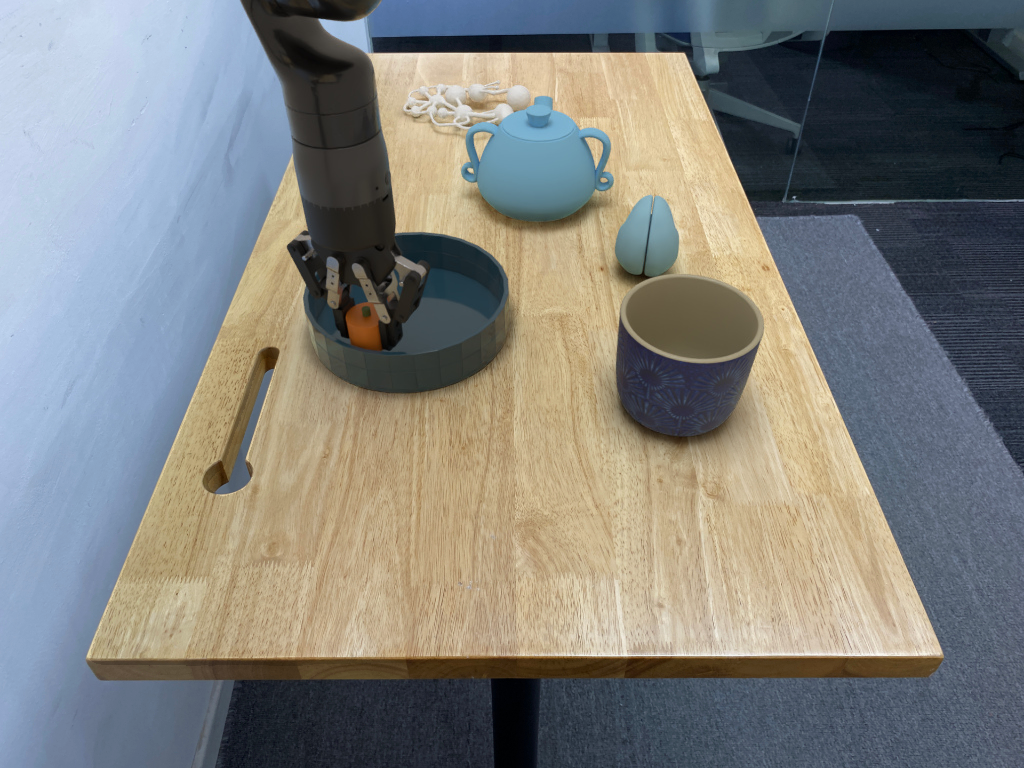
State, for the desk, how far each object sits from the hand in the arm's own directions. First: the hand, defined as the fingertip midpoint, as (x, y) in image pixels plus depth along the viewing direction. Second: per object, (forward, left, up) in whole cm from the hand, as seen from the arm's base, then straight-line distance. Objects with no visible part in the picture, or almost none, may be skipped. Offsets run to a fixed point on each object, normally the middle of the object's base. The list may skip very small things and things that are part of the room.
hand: (370, 338), depth 75 cm
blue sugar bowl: (+36, +15, -4) cm, 39 cm away
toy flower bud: (+35, -5, -4) cm, 36 cm away
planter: (+19, -23, -4) cm, 30 cm away
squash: (0, 0, 0) cm, 0 cm away
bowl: (+7, +3, -4) cm, 9 cm away
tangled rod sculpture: (+43, +39, -4) cm, 58 cm away
